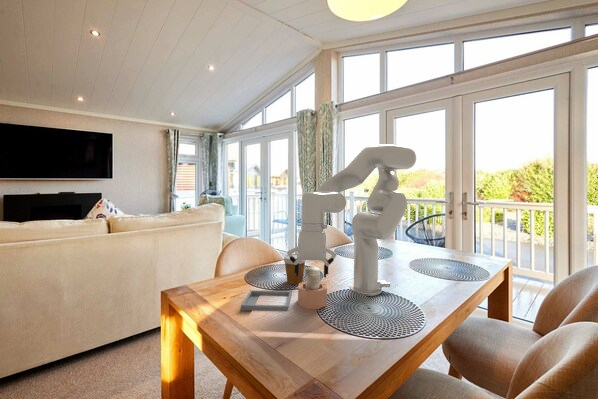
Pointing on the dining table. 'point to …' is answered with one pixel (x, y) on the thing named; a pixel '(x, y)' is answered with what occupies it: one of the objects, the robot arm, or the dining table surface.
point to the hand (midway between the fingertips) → (311, 275)
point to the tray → (252, 299)
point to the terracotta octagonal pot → (312, 296)
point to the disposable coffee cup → (291, 270)
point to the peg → (312, 278)
